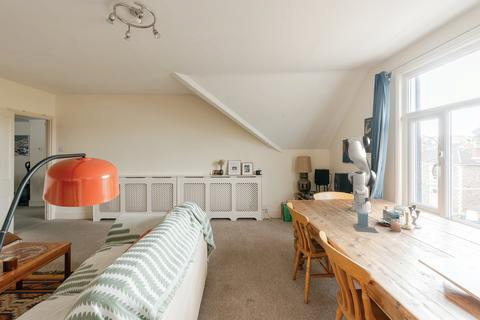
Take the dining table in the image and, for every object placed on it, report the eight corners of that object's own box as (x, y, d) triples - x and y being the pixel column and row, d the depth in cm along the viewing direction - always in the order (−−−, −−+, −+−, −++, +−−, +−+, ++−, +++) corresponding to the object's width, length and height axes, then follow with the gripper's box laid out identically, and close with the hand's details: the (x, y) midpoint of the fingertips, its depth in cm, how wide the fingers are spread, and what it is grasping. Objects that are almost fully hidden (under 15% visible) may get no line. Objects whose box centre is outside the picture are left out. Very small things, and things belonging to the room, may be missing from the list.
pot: (389, 228, 161) (389, 221, 160) (398, 229, 159) (398, 221, 158) (392, 231, 155) (392, 223, 155) (402, 232, 153) (402, 224, 153)
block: (357, 224, 172) (357, 211, 172) (366, 224, 170) (366, 212, 170) (359, 226, 167) (359, 213, 167) (367, 226, 165) (367, 214, 165)
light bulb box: (400, 226, 166) (400, 212, 165) (391, 226, 166) (391, 212, 166) (390, 221, 177) (390, 208, 176) (382, 221, 177) (382, 208, 176)
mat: (353, 225, 167) (353, 225, 167) (374, 227, 163) (374, 227, 163) (356, 231, 157) (356, 230, 157) (378, 233, 153) (378, 232, 153)
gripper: (352, 189, 190) (353, 204, 190) (357, 192, 170) (357, 210, 171) (360, 189, 188) (361, 205, 188) (366, 193, 168) (366, 210, 169)
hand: (359, 207), depth 179 cm, fingers open, 8 cm apart
